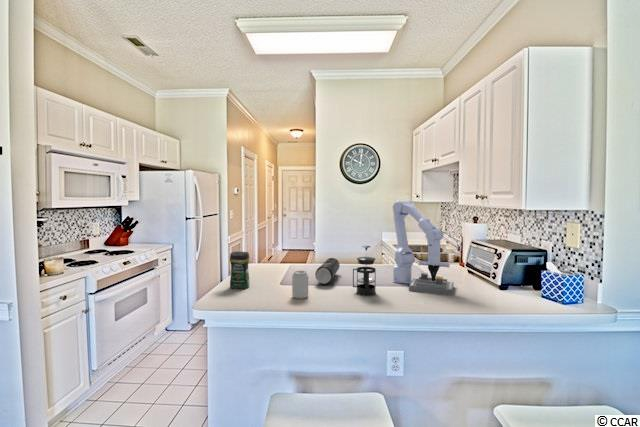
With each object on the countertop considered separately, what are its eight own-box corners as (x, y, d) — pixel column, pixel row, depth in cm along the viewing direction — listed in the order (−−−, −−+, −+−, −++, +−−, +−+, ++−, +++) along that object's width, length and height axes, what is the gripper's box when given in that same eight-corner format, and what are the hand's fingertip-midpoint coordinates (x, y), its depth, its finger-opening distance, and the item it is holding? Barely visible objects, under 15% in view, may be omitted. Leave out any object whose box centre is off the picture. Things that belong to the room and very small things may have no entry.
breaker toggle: (435, 286, 173) (435, 277, 172) (436, 284, 175) (436, 276, 175) (442, 287, 171) (442, 278, 171) (442, 285, 174) (442, 276, 174)
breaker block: (408, 290, 174) (409, 276, 174) (413, 283, 189) (413, 270, 189) (452, 295, 167) (452, 280, 166) (453, 286, 181) (453, 273, 181)
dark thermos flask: (340, 274, 209) (340, 257, 209) (332, 287, 182) (332, 267, 181) (324, 274, 211) (324, 257, 210) (314, 286, 184) (314, 266, 183)
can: (310, 295, 167) (310, 270, 166) (304, 300, 160) (304, 274, 159) (296, 294, 169) (295, 269, 168) (289, 298, 162) (289, 272, 161)
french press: (376, 290, 175) (376, 244, 174) (378, 295, 166) (378, 247, 164) (352, 290, 176) (352, 244, 174) (353, 295, 166) (353, 247, 165)
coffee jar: (227, 289, 178) (227, 252, 177) (233, 285, 186) (233, 250, 185) (246, 289, 176) (245, 253, 175) (251, 285, 184) (251, 250, 183)
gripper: (417, 253, 173) (417, 281, 173) (449, 255, 167) (448, 283, 168) (419, 251, 179) (419, 277, 180) (450, 253, 173) (449, 280, 174)
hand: (433, 280), depth 174 cm, fingers closed
